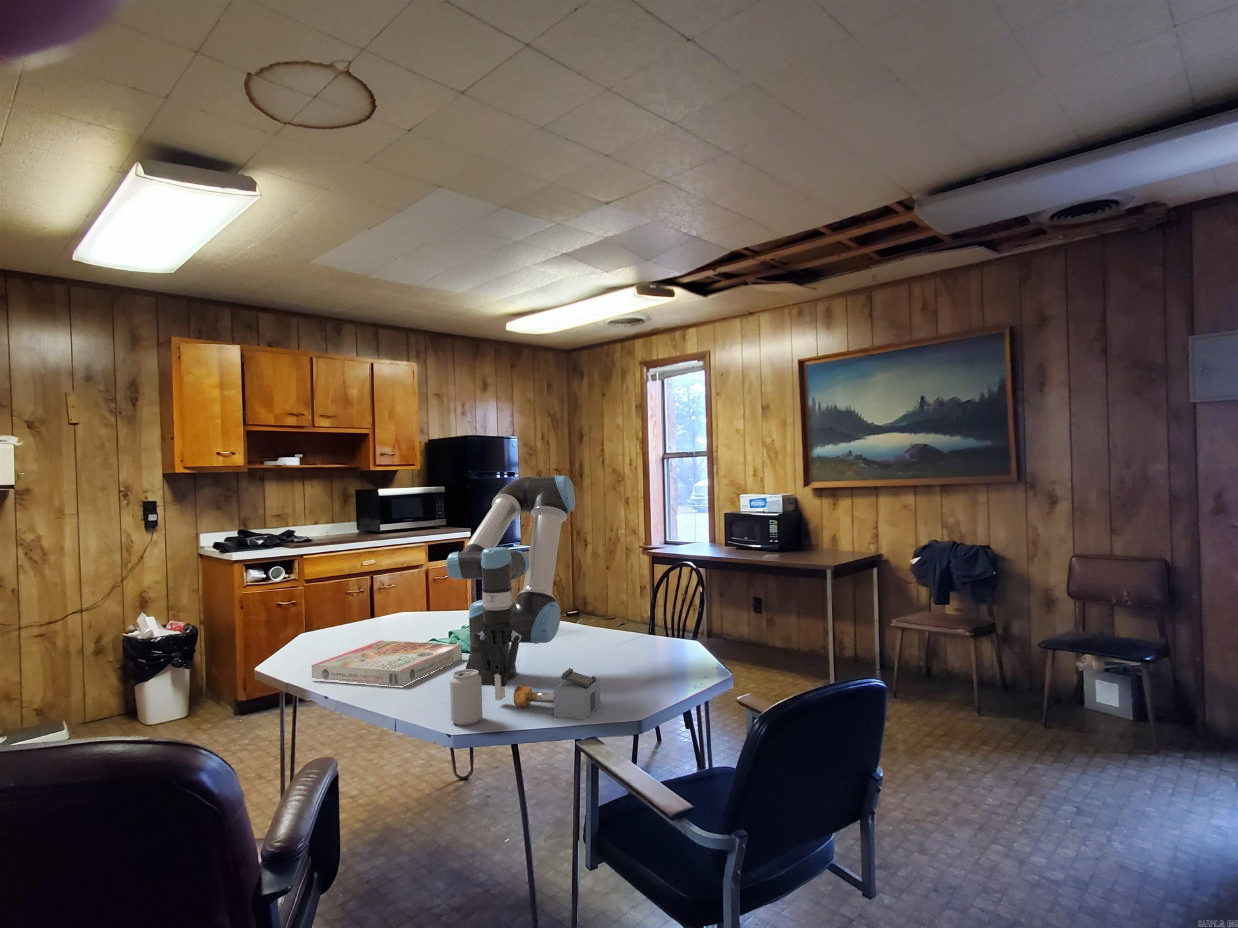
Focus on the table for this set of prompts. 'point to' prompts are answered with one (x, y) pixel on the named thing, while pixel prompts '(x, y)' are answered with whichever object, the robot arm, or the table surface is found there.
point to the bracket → (576, 699)
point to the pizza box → (388, 662)
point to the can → (466, 697)
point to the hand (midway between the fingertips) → (500, 698)
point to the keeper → (578, 678)
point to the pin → (530, 696)
